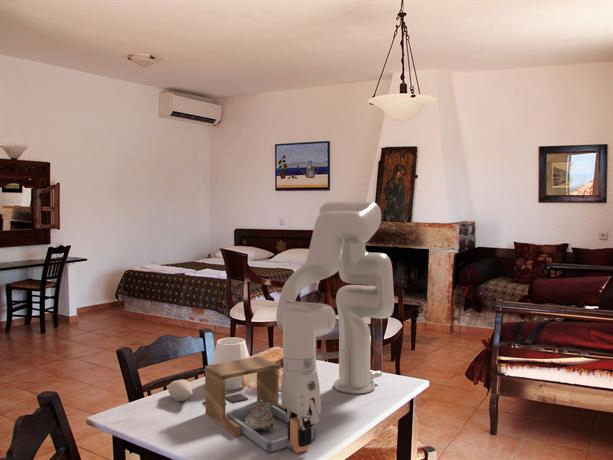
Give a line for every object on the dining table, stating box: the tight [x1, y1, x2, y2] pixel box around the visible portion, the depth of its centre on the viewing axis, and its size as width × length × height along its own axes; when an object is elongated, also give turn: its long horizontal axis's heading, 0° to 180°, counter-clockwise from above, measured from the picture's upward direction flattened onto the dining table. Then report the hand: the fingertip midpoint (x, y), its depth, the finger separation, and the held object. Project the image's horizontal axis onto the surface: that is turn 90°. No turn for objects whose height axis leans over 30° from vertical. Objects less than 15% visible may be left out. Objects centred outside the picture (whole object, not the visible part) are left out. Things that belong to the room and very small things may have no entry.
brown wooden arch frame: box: [202, 355, 285, 438], centre depth 149 cm, size 17×26×13 cm, turn 35°
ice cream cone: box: [167, 379, 193, 402], centre depth 158 cm, size 6×6×15 cm
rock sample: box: [242, 400, 276, 432], centre depth 139 cm, size 10×8×9 cm
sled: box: [228, 402, 317, 454], centre depth 136 cm, size 13×24×7 cm, turn 35°
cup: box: [211, 337, 250, 391], centre depth 172 cm, size 13×13×14 cm
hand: (299, 440), depth 127 cm, fingers open, 3 cm apart
